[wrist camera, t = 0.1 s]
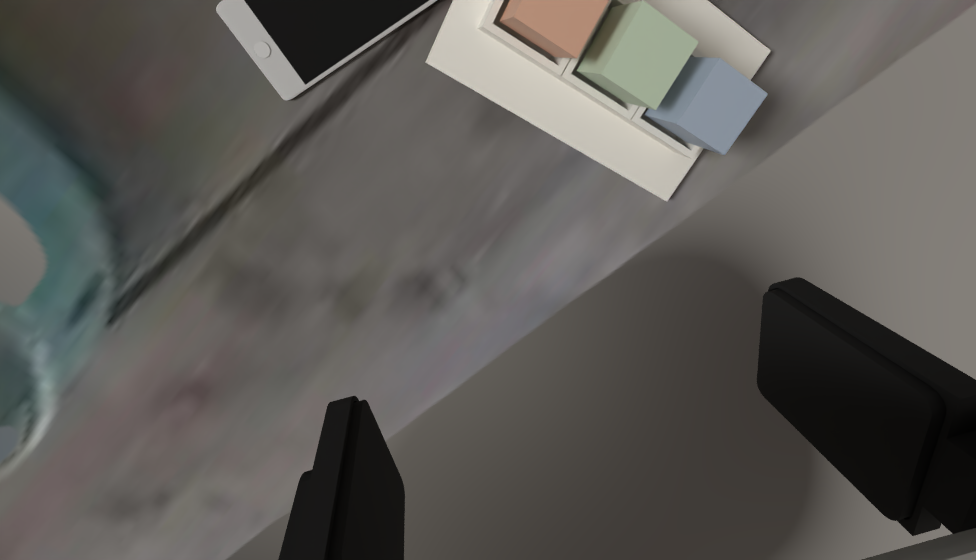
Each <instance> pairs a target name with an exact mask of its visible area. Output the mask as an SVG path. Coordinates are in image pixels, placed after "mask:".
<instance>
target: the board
mask: <svg viewBox="0 0 976 560" xmlns="http://www.w3.org/2000/svg"><path fill="white" fill-rule="evenodd" d="M639 1H643V0H609V1H608V3H607V5H606V7H605V8H604V10H603V12H602V14H601V16H600V17H599V19H598V21H597V23H596V25H595V27H594V28H593V30H592V32H591V34H590V36H589V37H588V39H587V41H586V43H585V45H584V46H583V48H582V50H581V52H580V54H579V55H578V57H577V58H562V57H554V56H552V55H551V54H549V53H548V52H546V51H545V50H543V49H542V48H540V47H539V46H537V45H535V44H534V43H532V42H531V41H529V40H528V39H526V38H525V37H523V36H521V35H520V34H518V33H517V32H515V31H514V30H512V29H511V28H509V27H508V26H506V25H504V24H503V23H501V22H500V19H501V17H502V15H503V13H504V11H505V9H506V7H507V5H508V2H509V0H453V1H452V4H451V6H450V8H449V10H448V13H447V15H446V17H445V19H444V22H443V24H442V26H441V28H440V31H439V33H438V35H437V37H436V40H435V42H434V44H433V46H432V49H431V51H430V53H429V55H428V58H427V60H426V63H428V64H429V65H431V66H433V67H434V68H436V69H438V70H440V71H441V72H443V73H445V74H447V75H448V76H450V77H452V78H454V79H455V80H457V81H459V82H460V83H462V84H464V85H466V86H467V87H469V88H471V89H473V90H474V91H476V92H478V93H480V94H481V95H483V96H485V97H486V98H488V99H490V100H492V101H493V102H495V103H497V104H499V105H500V106H502V107H504V108H506V109H507V110H509V111H511V112H512V113H514V114H516V115H518V116H519V117H521V118H523V119H525V120H526V121H528V122H530V123H532V124H533V125H535V126H537V127H538V128H540V129H542V130H544V131H545V132H547V133H549V134H551V135H552V136H554V137H556V138H558V139H559V140H561V141H563V142H564V143H566V144H568V145H570V146H571V147H573V148H575V149H577V150H578V151H580V152H582V153H583V154H585V155H587V156H589V157H590V158H592V159H594V160H596V161H597V162H599V163H601V164H603V165H604V166H606V167H608V168H609V169H611V170H613V171H615V172H616V173H618V174H620V175H622V176H623V177H625V178H627V179H629V180H630V181H632V182H634V183H635V184H637V185H639V186H641V187H642V188H644V189H646V190H648V191H649V192H651V193H653V194H655V195H656V196H658V197H660V198H661V199H663V200H665V201H668V199H669V198H670V197H671V195H672V194H673V192H674V191H675V189H676V188H677V186H678V185H679V183H680V182H681V181H682V179H683V178H684V176H685V175H686V173H687V172H688V170H689V169H690V168H691V166H692V165H693V163H694V162H695V160H696V159H697V157H698V156H699V154H700V153H701V152H702V150H703V149H704V148H702V147H699V146H696V145H693V144H690V143H687V142H686V141H684V140H683V139H681V138H680V137H678V136H676V135H675V134H673V133H672V132H670V131H669V130H667V129H666V128H664V127H662V126H661V125H659V124H658V123H656V122H655V121H653V120H652V119H650V118H649V117H647V116H645V115H644V114H645V113H646V111H647V110H648V108H645V107H641V106H637V105H633V104H629V103H625V102H624V101H622V100H621V99H619V98H618V97H616V96H614V95H613V94H611V93H610V92H608V91H607V90H605V89H604V88H602V87H601V86H599V85H597V84H596V83H594V82H593V81H591V80H590V79H588V78H587V77H585V76H583V75H582V74H580V73H579V72H577V69H578V67H579V65H580V64H581V62H582V60H583V58H584V56H585V55H586V53H587V51H588V49H589V47H590V46H591V44H592V42H593V40H594V38H595V37H596V35H597V33H598V31H599V29H600V28H601V26H602V24H603V22H604V20H605V19H606V17H607V15H608V13H609V11H610V10H611V8H612V7H615V6H619V5H624V4H629V3H634V2H639ZM644 1H645V2H646V3H648V4H649V5H650V6H652V7H653V8H654V9H656V10H657V11H658V12H660V13H661V14H662V15H664V16H665V17H666V18H668V19H669V20H670V21H672V22H673V23H674V24H676V25H677V26H678V27H680V28H681V29H682V30H684V31H685V32H686V33H688V34H689V35H690V36H692V37H693V38H694V39H696V40H697V41H698V42H699V43H698V44H697V46H696V47H695V49H694V51H693V52H692V54H691V55H690V57H707V58H721V59H722V60H724V61H725V62H726V63H728V64H729V65H730V66H732V67H733V68H734V69H736V70H737V71H738V72H740V73H741V74H742V75H744V76H745V77H746V78H748V79H749V80H751V79H752V78H753V76H754V75H755V73H756V72H757V70H758V69H759V67H760V66H761V64H762V63H763V62H764V60H765V59H766V57H767V56H768V54H769V53H770V51H771V50H769V49H768V48H767V47H766V46H764V45H763V44H762V43H761V42H759V41H758V40H757V39H756V38H754V37H753V36H752V35H751V34H749V33H748V32H747V31H746V30H744V29H743V28H742V27H740V26H739V25H738V24H737V23H735V22H734V21H733V20H732V19H730V18H729V17H728V16H727V15H725V14H724V13H723V12H722V11H720V10H719V9H718V8H717V7H715V6H714V5H713V4H712V3H710V2H709V1H708V0H644Z"/></svg>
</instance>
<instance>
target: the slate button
mask: <svg viewBox="0 0 976 560" xmlns="http://www.w3.org/2000/svg"><path fill="white" fill-rule="evenodd" d="M767 95H768V93H766V92H765V91H764V90H762V89H761V88H760V87H758V86H757V85H756V84H754V83H753V82H752V81H750V80H749V79H748V78H746V77H745V76H744V75H742V74H741V73H740V72H738V71H737V70H736V69H734V68H733V67H732V66H730V65H729V64H728V63H726V62H725V61H724V60H722V59H721V58H707V57H689V59H688V60H687V62H686V63H685V65H684V66H683V68H682V70H681V71H680V73H679V74H678V76H677V77H676V79H675V81H674V82H673V84H672V85H671V87H670V89H669V90H668V92H667V93H666V95H665V96H664V98H663V100H662V101H661V103H660V104H659V106H658V108H657V109H656V110H653V109H649V108H648V110H647V111H646V113H645V114H644V115H645V116H647V117H649V118H650V119H652V120H653V121H655V122H656V123H658V124H659V125H661V126H662V127H664V128H666V129H667V130H669V131H670V132H672V133H673V134H675V135H676V136H678V137H680V138H681V139H683V140H684V141H686V142H687V143H690V144H693V145H696V146H699V147H702V148H705V149H708V150H710V151H713V152H716V153H719V154H722V155H725V154H726V153H727V151H728V150H729V148H730V147H731V146H732V144H733V143H734V141H735V140H736V138H737V137H738V136H739V134H740V133H741V131H742V130H743V129H744V127H745V126H746V124H747V123H748V122H749V120H750V119H751V117H752V116H753V115H754V113H755V112H756V110H757V109H758V107H759V106H760V105H761V103H762V102H763V100H764V99H765V98H766V96H767Z"/></svg>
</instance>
